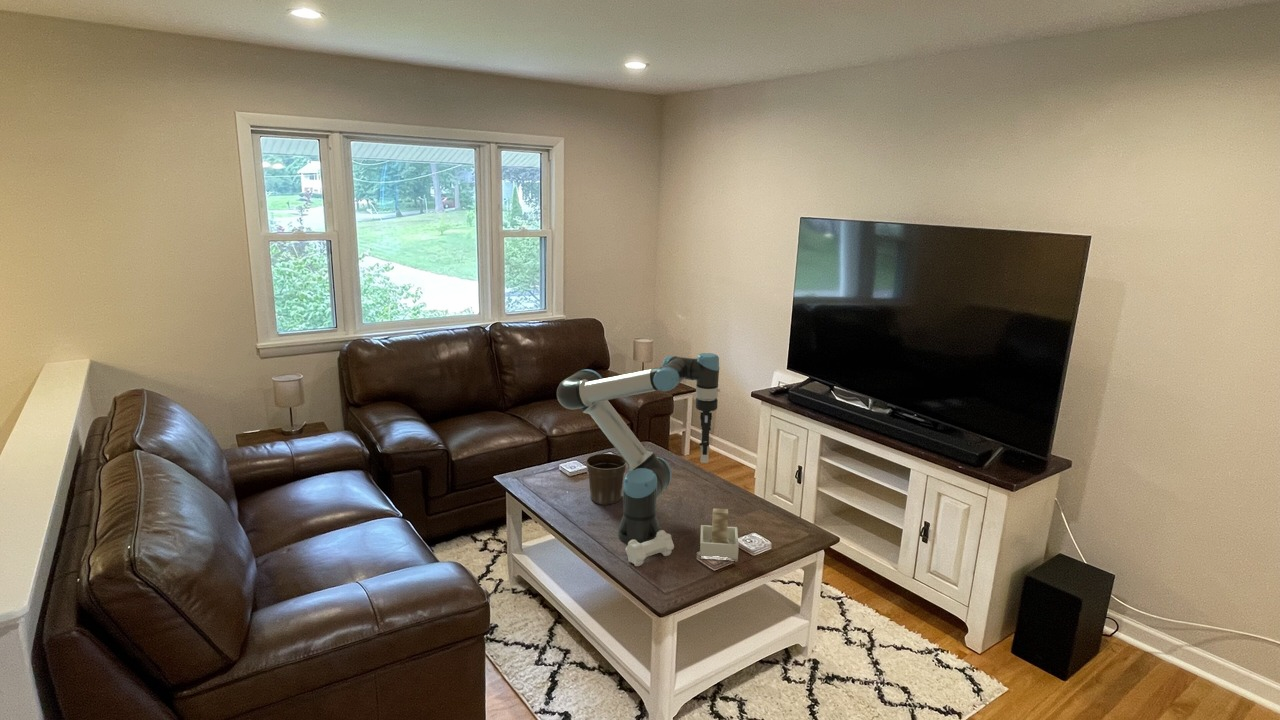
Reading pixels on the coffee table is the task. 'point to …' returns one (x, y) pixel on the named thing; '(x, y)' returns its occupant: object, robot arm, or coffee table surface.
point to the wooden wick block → (719, 525)
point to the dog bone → (649, 548)
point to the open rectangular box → (719, 548)
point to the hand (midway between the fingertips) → (704, 455)
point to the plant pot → (605, 477)
